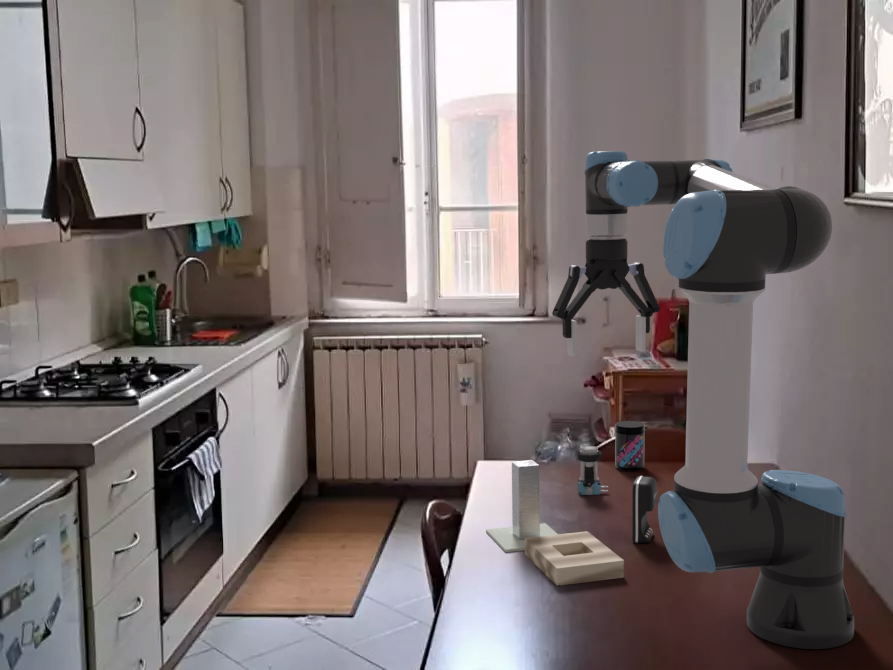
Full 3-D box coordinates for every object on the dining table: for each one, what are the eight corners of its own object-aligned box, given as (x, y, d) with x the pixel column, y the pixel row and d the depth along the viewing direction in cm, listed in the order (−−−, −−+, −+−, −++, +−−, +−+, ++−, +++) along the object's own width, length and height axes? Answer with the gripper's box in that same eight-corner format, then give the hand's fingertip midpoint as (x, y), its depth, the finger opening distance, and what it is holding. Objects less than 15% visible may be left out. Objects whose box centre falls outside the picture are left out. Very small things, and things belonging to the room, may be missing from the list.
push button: (607, 489, 232) (607, 444, 231) (609, 497, 227) (609, 450, 225) (576, 489, 233) (575, 444, 231) (577, 497, 227) (577, 451, 226)
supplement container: (609, 469, 248) (609, 425, 247) (623, 462, 254) (623, 419, 252) (636, 473, 244) (636, 428, 243) (649, 466, 250) (649, 423, 248)
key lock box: (652, 545, 197) (652, 484, 195) (631, 543, 198) (631, 483, 196) (658, 533, 203) (658, 474, 202) (637, 531, 204) (638, 473, 203)
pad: (567, 545, 198) (567, 542, 198) (505, 552, 195) (505, 549, 195) (545, 525, 209) (545, 523, 209) (486, 532, 206) (486, 529, 206)
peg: (539, 538, 200) (539, 465, 198) (519, 540, 199) (518, 467, 197) (532, 531, 204) (531, 459, 202) (512, 533, 203) (511, 461, 201)
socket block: (623, 577, 181) (623, 560, 181) (557, 585, 178) (556, 568, 178) (587, 547, 196) (587, 531, 196) (525, 554, 193) (524, 538, 193)
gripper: (660, 234, 202) (659, 346, 205) (534, 239, 195) (535, 354, 198) (678, 236, 194) (677, 352, 197) (549, 241, 188) (550, 360, 191)
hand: (606, 353), depth 198 cm, fingers open, 13 cm apart
